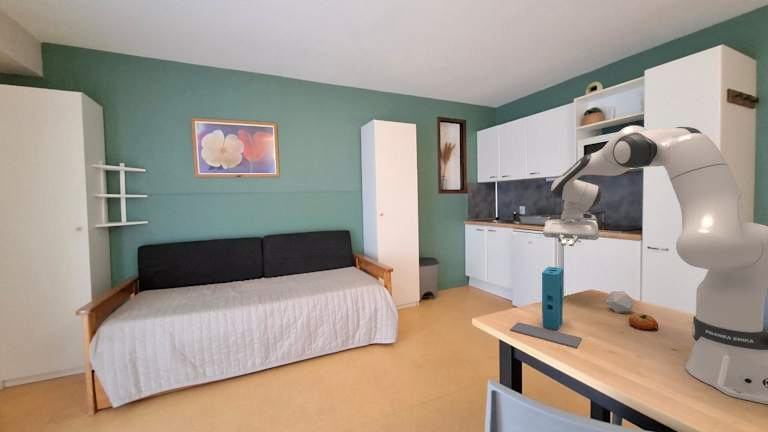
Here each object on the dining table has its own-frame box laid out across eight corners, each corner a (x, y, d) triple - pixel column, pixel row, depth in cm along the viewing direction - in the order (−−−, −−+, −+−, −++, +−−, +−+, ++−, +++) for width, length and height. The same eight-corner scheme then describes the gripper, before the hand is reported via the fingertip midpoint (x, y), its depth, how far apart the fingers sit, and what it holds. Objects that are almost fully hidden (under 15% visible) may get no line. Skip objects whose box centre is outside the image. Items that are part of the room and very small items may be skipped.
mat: (581, 339, 99) (581, 337, 99) (576, 348, 93) (576, 346, 93) (517, 323, 112) (517, 322, 112) (510, 330, 106) (510, 329, 106)
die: (635, 318, 116) (642, 296, 118) (613, 306, 117) (620, 284, 120) (619, 318, 123) (626, 297, 126) (599, 307, 125) (606, 286, 127)
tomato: (623, 322, 107) (631, 305, 109) (626, 330, 111) (634, 314, 113) (652, 333, 101) (660, 315, 103) (653, 342, 105) (661, 324, 106)
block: (548, 318, 116) (548, 266, 115) (563, 321, 113) (563, 268, 112) (541, 328, 107) (541, 272, 106) (557, 332, 104) (557, 274, 103)
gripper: (544, 214, 137) (538, 238, 131) (599, 215, 124) (595, 242, 117) (547, 223, 141) (541, 247, 134) (601, 225, 127) (597, 252, 120)
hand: (567, 245), depth 125 cm, fingers closed
